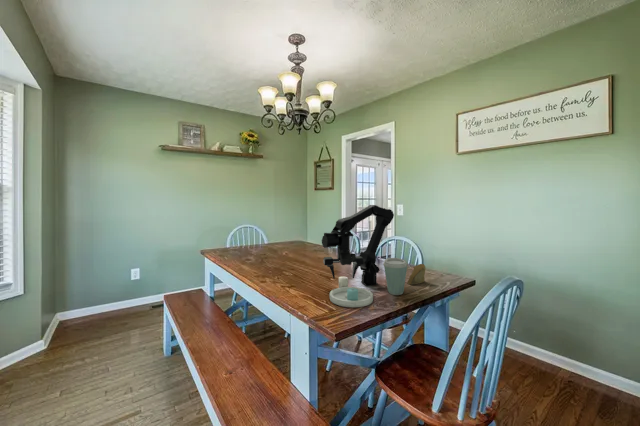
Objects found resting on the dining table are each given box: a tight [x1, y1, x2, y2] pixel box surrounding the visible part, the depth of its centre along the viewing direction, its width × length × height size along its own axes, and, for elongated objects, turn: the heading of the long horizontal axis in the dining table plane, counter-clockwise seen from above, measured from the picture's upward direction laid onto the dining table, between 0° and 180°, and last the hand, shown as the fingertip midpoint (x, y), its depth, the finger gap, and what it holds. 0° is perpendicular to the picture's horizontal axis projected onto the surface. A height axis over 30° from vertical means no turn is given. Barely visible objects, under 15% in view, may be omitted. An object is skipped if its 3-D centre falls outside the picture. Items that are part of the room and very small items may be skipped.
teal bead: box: [347, 288, 358, 301], centre depth 116 cm, size 4×4×5 cm
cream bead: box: [338, 276, 349, 288], centre depth 136 cm, size 4×4×5 cm
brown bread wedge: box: [407, 263, 426, 286], centre depth 144 cm, size 11×9×10 cm
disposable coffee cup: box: [382, 257, 408, 296], centre depth 129 cm, size 11×11×15 cm
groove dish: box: [329, 286, 374, 308], centre depth 121 cm, size 18×18×2 cm
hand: (343, 278), depth 136 cm, fingers open, 9 cm apart
